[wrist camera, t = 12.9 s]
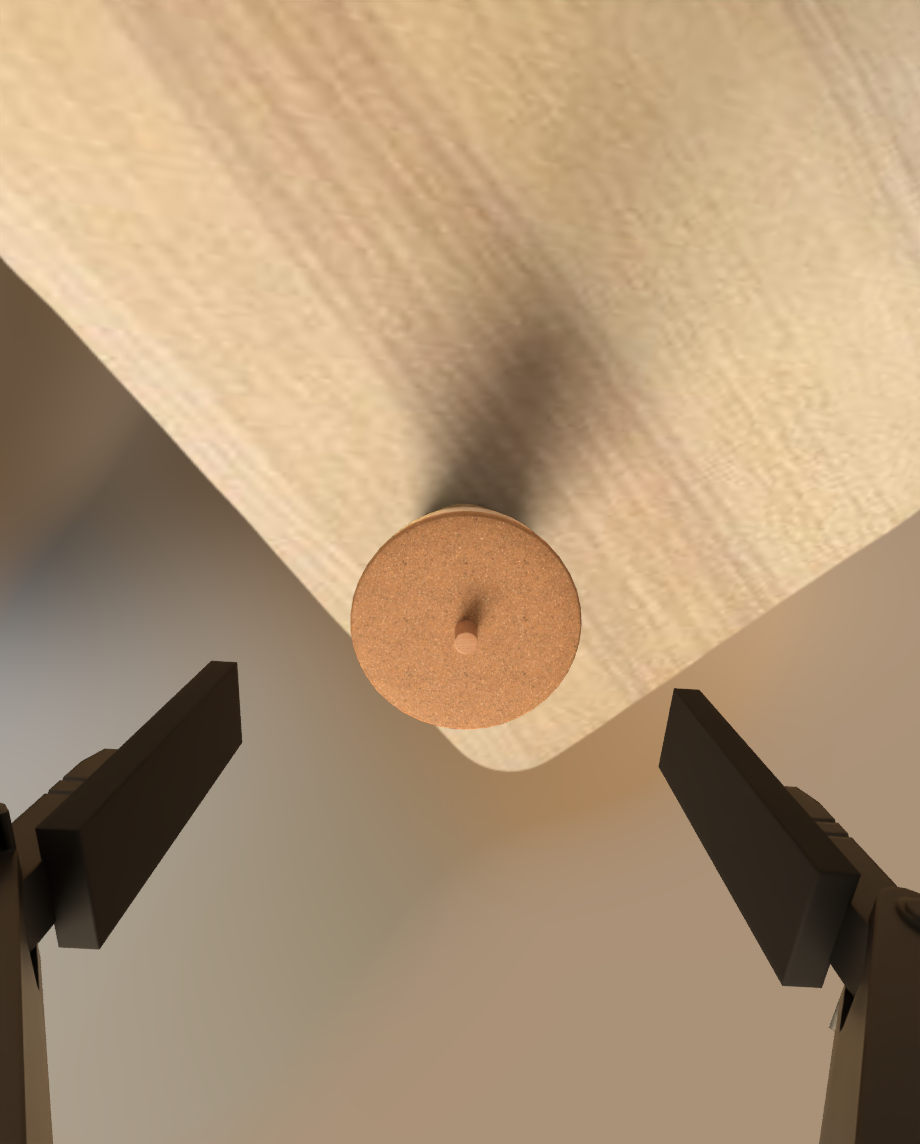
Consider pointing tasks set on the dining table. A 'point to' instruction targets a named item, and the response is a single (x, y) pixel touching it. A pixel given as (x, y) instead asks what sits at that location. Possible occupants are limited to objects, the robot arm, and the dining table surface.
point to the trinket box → (465, 619)
